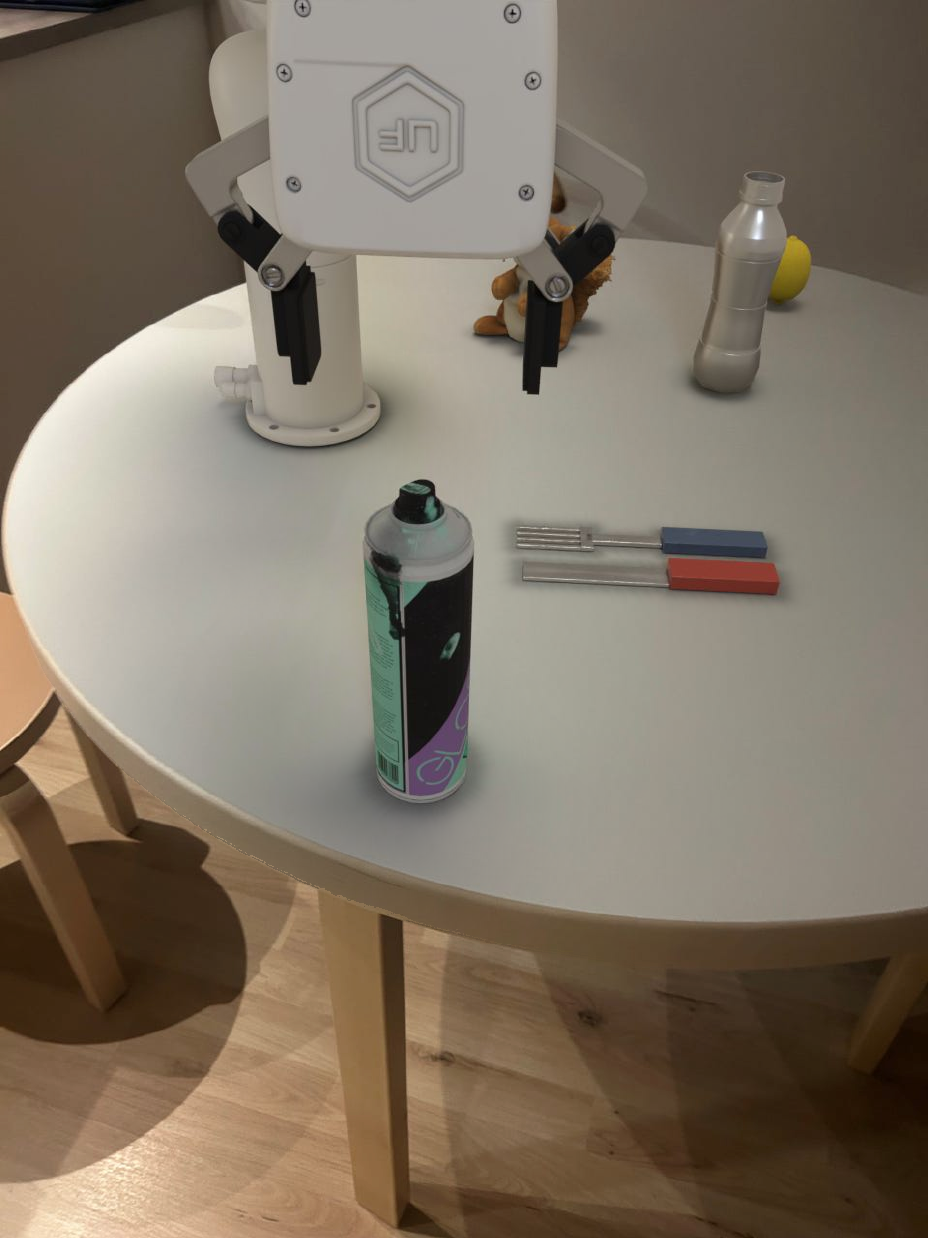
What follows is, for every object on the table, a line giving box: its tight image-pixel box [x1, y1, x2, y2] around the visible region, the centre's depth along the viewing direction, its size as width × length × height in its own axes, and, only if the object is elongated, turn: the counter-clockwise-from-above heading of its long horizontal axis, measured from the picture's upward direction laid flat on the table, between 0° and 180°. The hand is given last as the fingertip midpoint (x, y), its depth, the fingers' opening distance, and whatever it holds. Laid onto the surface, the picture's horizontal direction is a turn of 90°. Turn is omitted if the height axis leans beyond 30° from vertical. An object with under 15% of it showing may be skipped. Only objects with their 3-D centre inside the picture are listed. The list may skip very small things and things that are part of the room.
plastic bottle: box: [692, 170, 788, 393], centre depth 91 cm, size 6×7×20 cm
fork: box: [516, 524, 768, 559], centre depth 76 cm, size 20×3×1 cm, turn 87°
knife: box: [522, 557, 781, 595], centre depth 72 cm, size 19×2×1 cm, turn 87°
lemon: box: [768, 235, 812, 305], centre depth 112 cm, size 6×6×8 cm
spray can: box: [362, 478, 475, 804], centre depth 51 cm, size 6×6×20 cm
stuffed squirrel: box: [473, 216, 617, 351], centre depth 102 cm, size 10×14×13 cm
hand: (418, 375), depth 41 cm, fingers open, 9 cm apart
